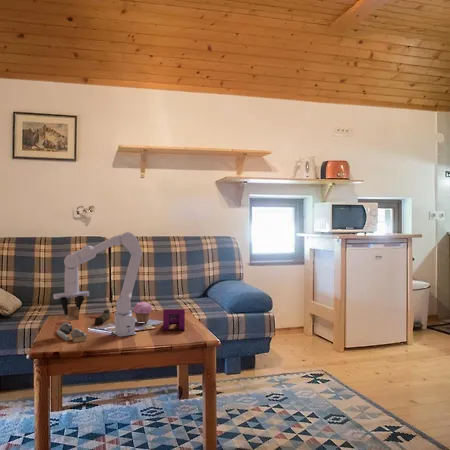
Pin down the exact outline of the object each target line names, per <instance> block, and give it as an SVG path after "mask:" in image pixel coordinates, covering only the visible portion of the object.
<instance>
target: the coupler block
mask: <svg viewBox="0 0 450 450" xmlns="http://www.w3.org/2000/svg"><path fill="white" fill-rule="evenodd" d="M67 310H68V314H67V315H64V319H66V320H67V321H69V322H70V321H71V322H72V321H79V319H80V318H79V316H80V311H79V308H78V307H77V306H76V304H72V305H68V306H67Z"/></svg>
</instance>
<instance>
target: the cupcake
mask: <svg viewBox="0 0 450 450" xmlns="http://www.w3.org/2000/svg"><path fill="white" fill-rule="evenodd" d="M152 310H153V309H152V305H151V303H150V302H149V303H148V302H143V301H140V302H137V303H136V304H135V306H134V307H133V312H134V314H135V318H136V322H147V323H148V322H149V316H150V313H152Z"/></svg>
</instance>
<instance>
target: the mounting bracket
mask: <svg viewBox="0 0 450 450" xmlns="http://www.w3.org/2000/svg"><path fill="white" fill-rule="evenodd" d="M162 312H163V315H162V319H163V320H162V324H163V325H162V330H163V331H164V332H165V331H170V324H178V330H179V331H185V328H186V327H185V324H186V323H185V321H186V319H185V318H186V317H185V316H186V315H185V309H182V308H181V309H179V308H178V309H174V308H173V309H163V311H162Z"/></svg>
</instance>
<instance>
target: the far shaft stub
mask: <svg viewBox="0 0 450 450" xmlns="http://www.w3.org/2000/svg"><path fill="white" fill-rule="evenodd" d="M57 328H58V329H57V331H59V330H60V331H62V332H63V333H64V334H66V335H67V334H71V332H72V331H73V330H74V328H73V325H72V324H70V323H68V322H67V321H64V322H62V323H61V324H60V326H57Z"/></svg>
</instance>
